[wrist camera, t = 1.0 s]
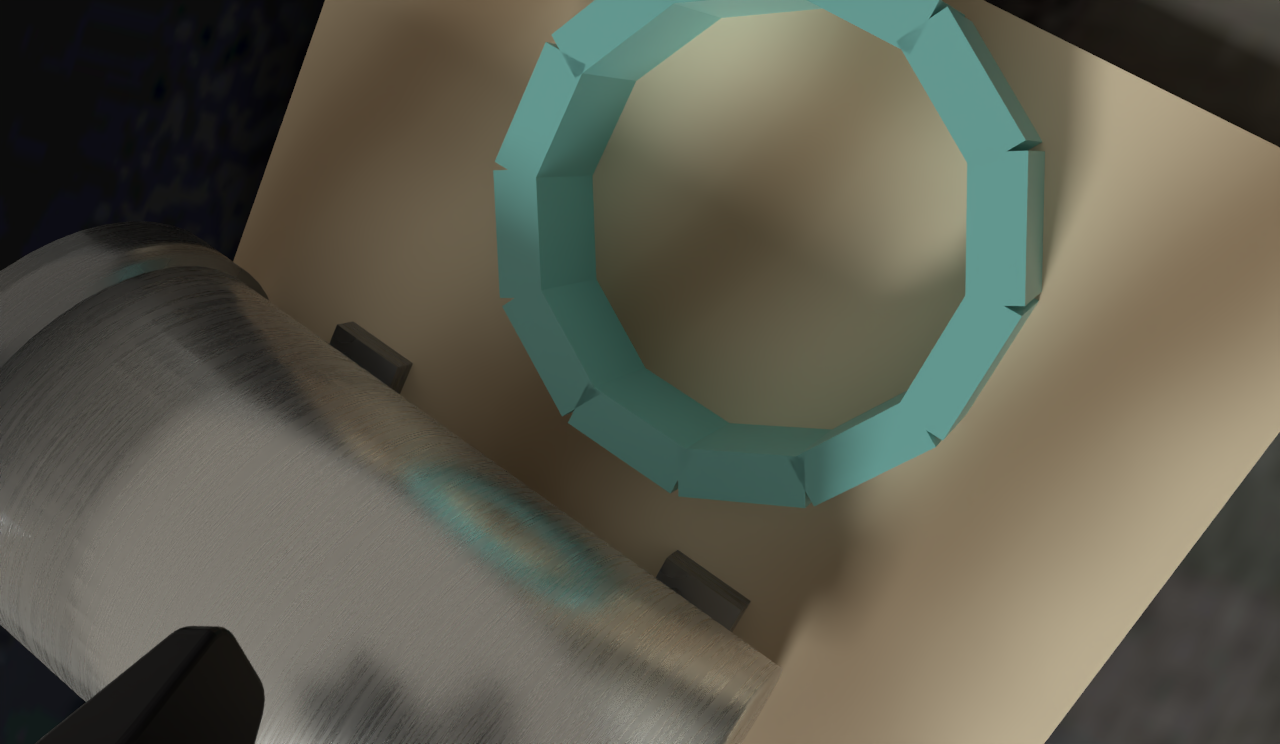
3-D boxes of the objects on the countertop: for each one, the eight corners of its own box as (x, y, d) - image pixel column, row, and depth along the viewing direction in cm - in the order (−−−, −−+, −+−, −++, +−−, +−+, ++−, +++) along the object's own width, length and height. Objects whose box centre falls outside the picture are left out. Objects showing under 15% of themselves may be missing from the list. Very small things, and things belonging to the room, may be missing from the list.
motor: (902, 629, 20) (747, 880, 13) (705, 925, 22) (488, 1265, 15) (290, 211, 24) (-79, 233, 17) (183, 503, 26) (-173, 624, 19)
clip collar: (1158, 112, 17) (1154, 107, 15) (868, 567, 20) (836, 607, 18) (682, -127, 19) (629, -156, 17) (487, 311, 22) (425, 324, 20)
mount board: (1422, 221, 17) (1436, 224, 16) (837, 1001, 23) (823, 1036, 22) (455, -261, 22) (422, -278, 21) (185, 481, 28) (151, 491, 27)
